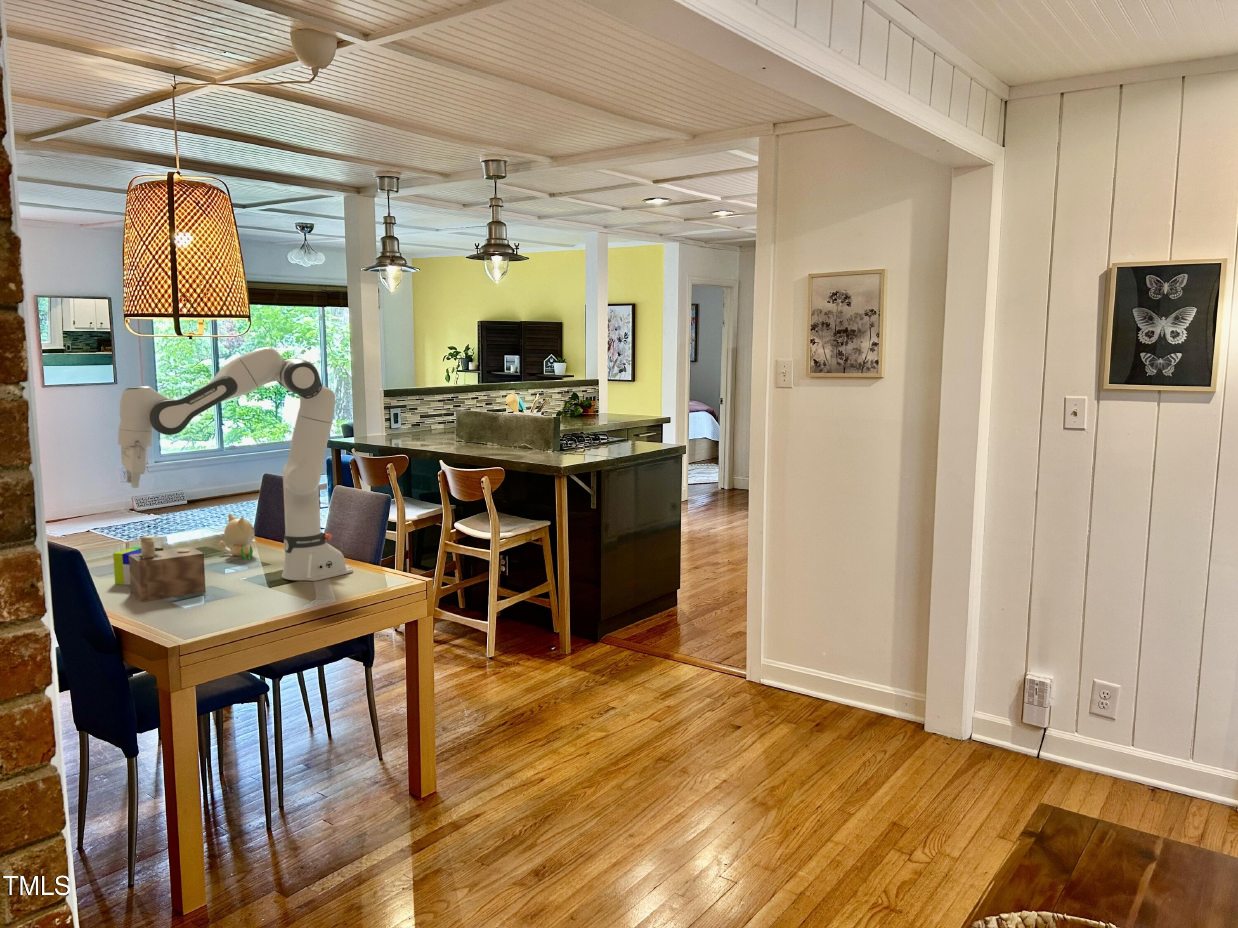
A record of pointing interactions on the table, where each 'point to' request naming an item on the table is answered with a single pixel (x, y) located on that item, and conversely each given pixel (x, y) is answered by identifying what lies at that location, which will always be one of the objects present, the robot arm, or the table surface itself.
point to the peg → (147, 547)
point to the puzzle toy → (125, 564)
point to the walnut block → (167, 574)
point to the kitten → (238, 537)
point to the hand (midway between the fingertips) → (132, 485)
